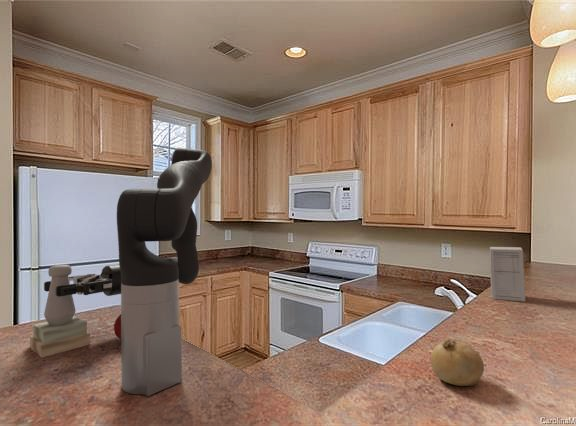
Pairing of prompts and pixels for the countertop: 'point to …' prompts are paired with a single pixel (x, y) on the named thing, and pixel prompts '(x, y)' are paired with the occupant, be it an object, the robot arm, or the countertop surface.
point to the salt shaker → (59, 298)
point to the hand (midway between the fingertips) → (50, 289)
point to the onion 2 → (456, 363)
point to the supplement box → (507, 273)
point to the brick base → (59, 345)
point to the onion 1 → (118, 327)
